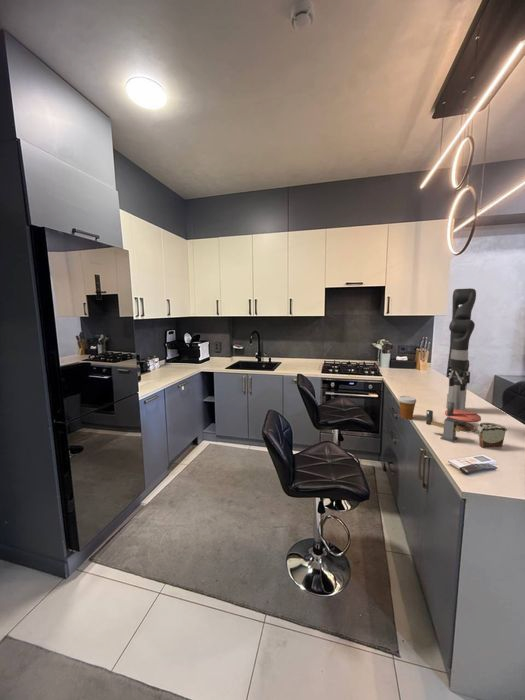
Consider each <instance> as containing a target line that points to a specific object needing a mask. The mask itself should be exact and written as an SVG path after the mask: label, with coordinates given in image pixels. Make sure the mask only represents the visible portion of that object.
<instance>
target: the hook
mask: <svg viewBox="0 0 525 700" xmlns="http://www.w3.org/2000/svg"><path fill="white" fill-rule="evenodd" d="M425 416H426V418H425V425H429V426H435V427H437V428H438V427H439V428H442V429H444V422H439V421H435V420H433V419H434V418H433V416H434V411H433V410H430V409H427V410H426V415H425ZM454 431H456V433H457V432H458V433H460V431H461V430H460V428H459V427H455V426H454Z"/></svg>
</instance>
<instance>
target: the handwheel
mask: <svg viewBox="0 0 525 700" xmlns="http://www.w3.org/2000/svg"><path fill="white" fill-rule="evenodd" d="M444 412H445V413H444V415H445V416H446V418H447V417H449V418H453V419H457V420H458V424H460V425H466V422H468V423H478V422H481V421H482V416H481V415H480V414H478V413H477V412H473V411H468V410H465V411H464V410H455V409H454V403H453V402H448V408H446V410H445V411H444Z"/></svg>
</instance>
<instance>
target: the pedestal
mask: <svg viewBox="0 0 525 700" xmlns="http://www.w3.org/2000/svg"><path fill="white" fill-rule="evenodd" d="M456 427H459V428H460V431H462V432H472V431H473V432H474V430H475V426H474V424H473V423H472V422H466V425H460V424H458V420H457V425H456Z"/></svg>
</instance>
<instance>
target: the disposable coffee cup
mask: <svg viewBox="0 0 525 700" xmlns="http://www.w3.org/2000/svg"><path fill="white" fill-rule="evenodd" d="M398 401H399V411H400V412H399V413H400V418H401V419H403V420H404V419H405V420H412V419H413V417H414V411H415V407H416V403H417V399H416V397H414V396H410V395H400V396H399V398H398Z"/></svg>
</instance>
